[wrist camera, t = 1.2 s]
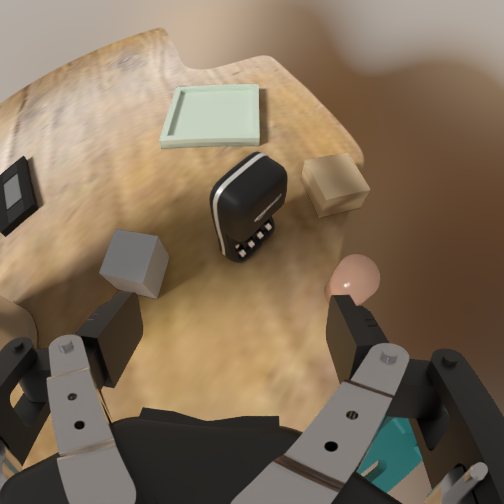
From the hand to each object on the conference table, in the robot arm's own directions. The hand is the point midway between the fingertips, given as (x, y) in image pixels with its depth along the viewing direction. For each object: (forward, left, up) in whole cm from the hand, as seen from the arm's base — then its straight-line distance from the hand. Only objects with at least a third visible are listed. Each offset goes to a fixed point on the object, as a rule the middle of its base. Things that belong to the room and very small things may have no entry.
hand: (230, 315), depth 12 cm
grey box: (-11, +9, -18) cm, 23 cm away
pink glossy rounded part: (+11, +7, -18) cm, 22 cm away
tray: (-5, +35, -18) cm, 40 cm away
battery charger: (+1, +13, -18) cm, 22 cm away
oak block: (+11, +20, -18) cm, 29 cm away
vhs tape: (-38, +22, -19) cm, 48 cm away
